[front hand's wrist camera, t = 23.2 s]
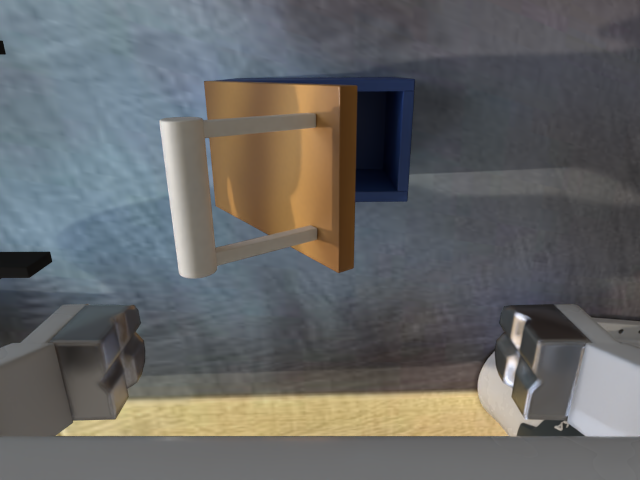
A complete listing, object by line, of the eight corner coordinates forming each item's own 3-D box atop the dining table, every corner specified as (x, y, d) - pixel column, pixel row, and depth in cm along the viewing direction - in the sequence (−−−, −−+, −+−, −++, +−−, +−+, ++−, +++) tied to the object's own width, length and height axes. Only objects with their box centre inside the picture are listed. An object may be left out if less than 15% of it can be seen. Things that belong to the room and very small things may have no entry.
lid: (357, 85, 21) (175, 91, 17) (354, 268, 25) (201, 317, 20) (217, 80, 34) (88, 83, 29) (227, 203, 37) (114, 224, 32)
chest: (394, 77, 43) (415, 78, 34) (390, 175, 46) (407, 201, 37) (235, 78, 43) (212, 80, 34) (242, 176, 46) (223, 202, 37)
